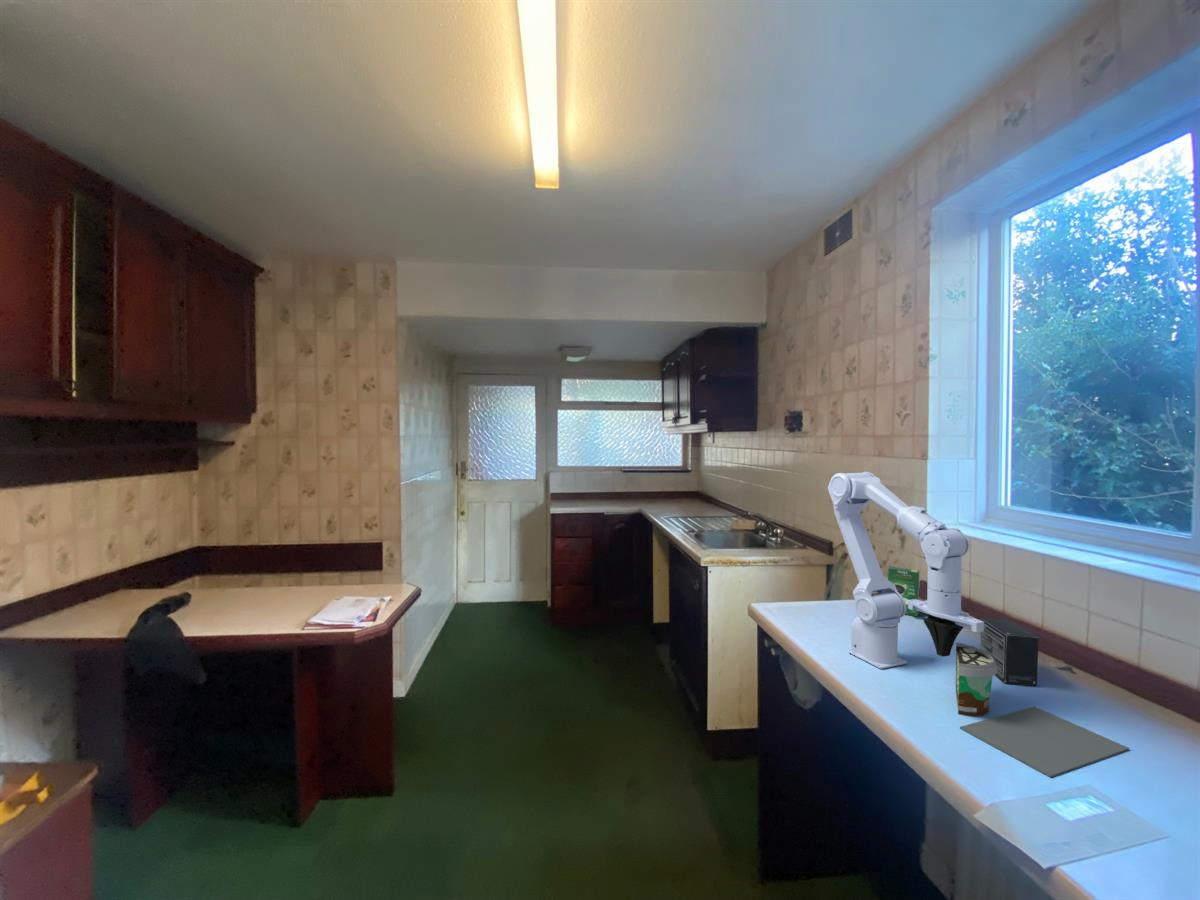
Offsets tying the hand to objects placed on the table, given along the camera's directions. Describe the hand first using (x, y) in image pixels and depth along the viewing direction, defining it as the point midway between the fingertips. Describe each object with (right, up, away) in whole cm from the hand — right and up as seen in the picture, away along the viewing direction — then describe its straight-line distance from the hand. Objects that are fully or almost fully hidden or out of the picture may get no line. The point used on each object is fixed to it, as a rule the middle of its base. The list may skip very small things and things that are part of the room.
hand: (943, 654), depth 105 cm
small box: (+19, -7, +7) cm, 21 cm away
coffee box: (+18, -6, +45) cm, 49 cm away
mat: (+6, -8, -16) cm, 19 cm away
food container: (+2, -8, -6) cm, 10 cm away
